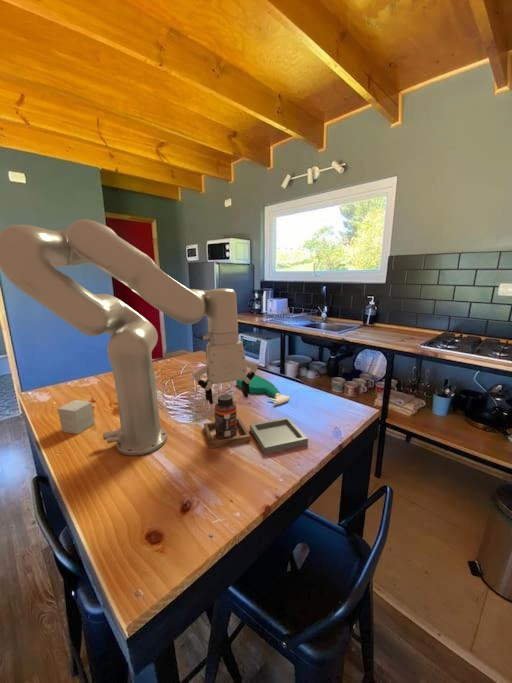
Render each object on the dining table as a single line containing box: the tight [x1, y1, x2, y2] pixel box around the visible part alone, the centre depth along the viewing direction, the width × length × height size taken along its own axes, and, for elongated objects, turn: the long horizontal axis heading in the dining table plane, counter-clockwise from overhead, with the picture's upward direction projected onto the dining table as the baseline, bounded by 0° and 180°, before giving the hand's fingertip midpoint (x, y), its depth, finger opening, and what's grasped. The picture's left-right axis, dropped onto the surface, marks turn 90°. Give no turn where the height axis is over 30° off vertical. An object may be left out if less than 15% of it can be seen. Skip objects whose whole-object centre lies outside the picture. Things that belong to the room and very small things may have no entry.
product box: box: [57, 399, 95, 435], centre depth 84 cm, size 6×6×7 cm
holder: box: [203, 416, 251, 450], centre depth 81 cm, size 11×11×2 cm
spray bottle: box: [235, 374, 290, 406], centre depth 109 cm, size 3×11×25 cm
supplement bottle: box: [214, 393, 238, 440], centre depth 80 cm, size 6×6×11 cm
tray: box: [249, 416, 309, 455], centre depth 79 cm, size 12×12×2 cm
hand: (228, 398), depth 78 cm, fingers open, 9 cm apart
